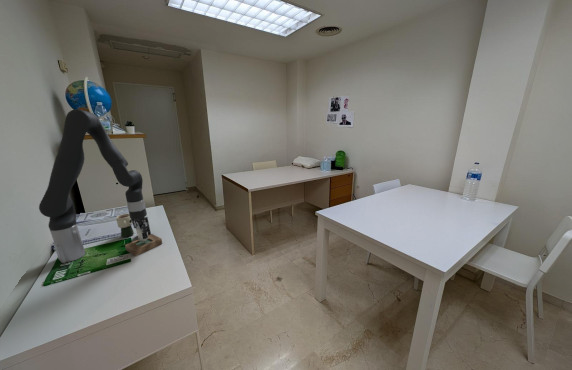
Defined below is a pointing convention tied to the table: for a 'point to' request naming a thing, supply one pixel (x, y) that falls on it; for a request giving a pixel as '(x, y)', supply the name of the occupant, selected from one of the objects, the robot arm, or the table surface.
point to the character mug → (125, 225)
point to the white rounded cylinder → (140, 234)
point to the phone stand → (148, 222)
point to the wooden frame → (143, 245)
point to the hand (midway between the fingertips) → (143, 237)
